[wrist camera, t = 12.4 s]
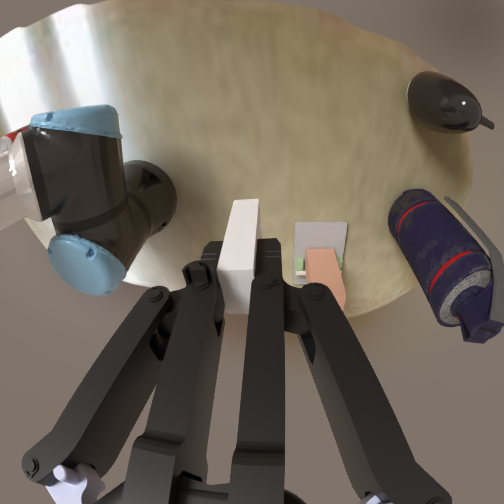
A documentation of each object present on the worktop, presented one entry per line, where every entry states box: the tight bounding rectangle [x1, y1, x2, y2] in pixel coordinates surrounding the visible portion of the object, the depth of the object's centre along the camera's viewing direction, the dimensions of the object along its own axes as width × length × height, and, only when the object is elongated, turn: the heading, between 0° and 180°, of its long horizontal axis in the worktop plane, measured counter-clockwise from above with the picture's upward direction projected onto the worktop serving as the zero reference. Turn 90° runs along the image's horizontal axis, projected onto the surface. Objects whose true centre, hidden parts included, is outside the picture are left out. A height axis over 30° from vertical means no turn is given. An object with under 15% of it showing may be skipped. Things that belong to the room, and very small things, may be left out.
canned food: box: [0, 124, 32, 154], centre depth 36 cm, size 8×8×11 cm
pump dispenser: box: [406, 71, 494, 134], centre depth 27 cm, size 10×10×15 cm
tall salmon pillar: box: [296, 248, 346, 311], centre depth 48 cm, size 10×5×13 cm, turn 94°
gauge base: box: [293, 222, 347, 284], centre depth 53 cm, size 10×15×2 cm, turn 4°
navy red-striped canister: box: [388, 189, 504, 343], centre depth 34 cm, size 14×12×30 cm
